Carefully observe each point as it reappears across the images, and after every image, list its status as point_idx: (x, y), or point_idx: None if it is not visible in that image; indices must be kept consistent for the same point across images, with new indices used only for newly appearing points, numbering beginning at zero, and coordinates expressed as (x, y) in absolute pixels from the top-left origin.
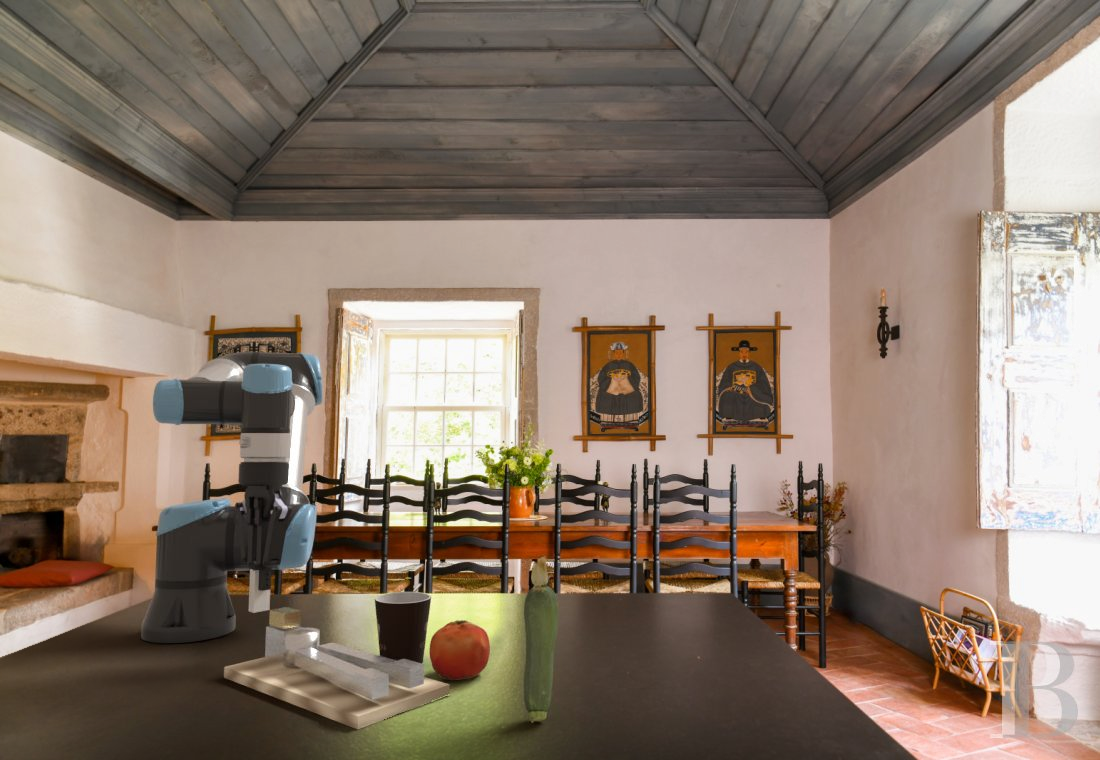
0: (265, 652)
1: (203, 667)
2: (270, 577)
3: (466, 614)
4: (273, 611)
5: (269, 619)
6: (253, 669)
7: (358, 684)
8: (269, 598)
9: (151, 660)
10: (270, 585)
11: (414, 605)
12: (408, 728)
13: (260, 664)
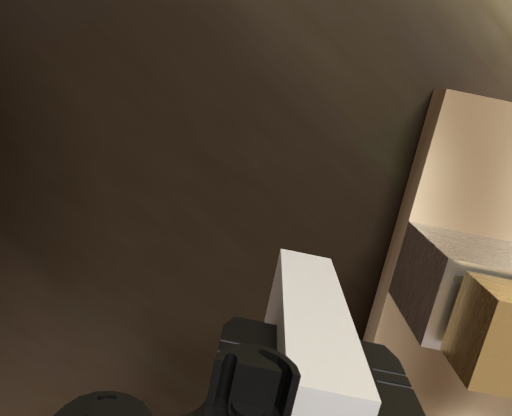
0: (393, 298)
1: (206, 357)
2: (415, 403)
3: None
4: (501, 395)
5: (449, 362)
6: (457, 399)
7: None
8: (338, 284)
9: (3, 376)
10: (399, 364)
11: None
12: None
13: (438, 355)
